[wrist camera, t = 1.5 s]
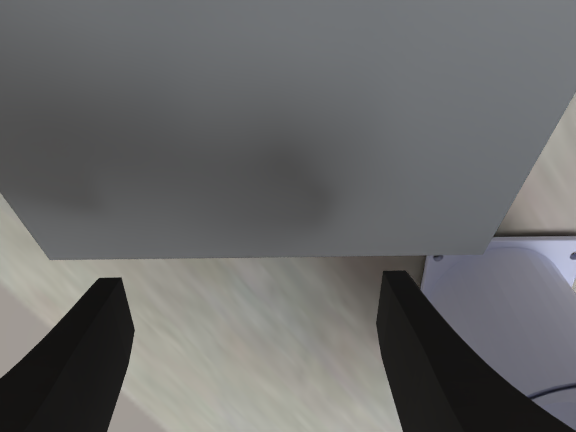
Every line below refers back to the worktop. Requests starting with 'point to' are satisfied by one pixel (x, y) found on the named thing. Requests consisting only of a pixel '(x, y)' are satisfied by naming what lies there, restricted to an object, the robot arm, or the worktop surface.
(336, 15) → the lid
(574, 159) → the worktop surface
